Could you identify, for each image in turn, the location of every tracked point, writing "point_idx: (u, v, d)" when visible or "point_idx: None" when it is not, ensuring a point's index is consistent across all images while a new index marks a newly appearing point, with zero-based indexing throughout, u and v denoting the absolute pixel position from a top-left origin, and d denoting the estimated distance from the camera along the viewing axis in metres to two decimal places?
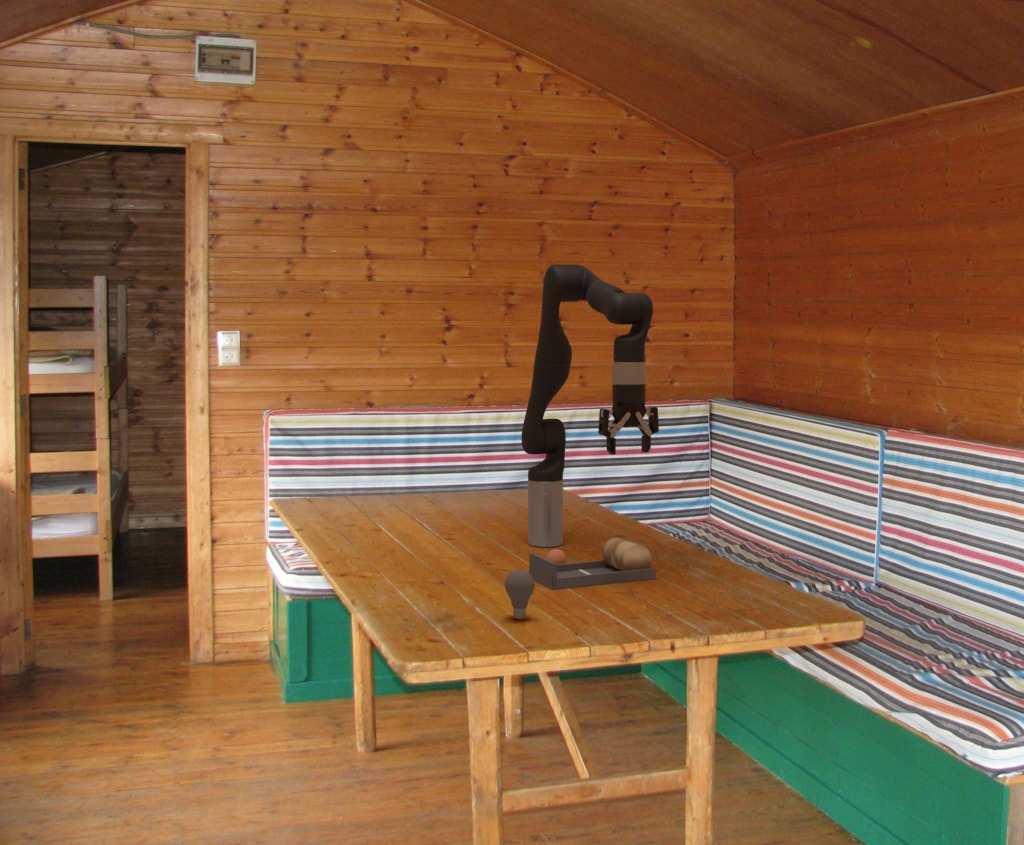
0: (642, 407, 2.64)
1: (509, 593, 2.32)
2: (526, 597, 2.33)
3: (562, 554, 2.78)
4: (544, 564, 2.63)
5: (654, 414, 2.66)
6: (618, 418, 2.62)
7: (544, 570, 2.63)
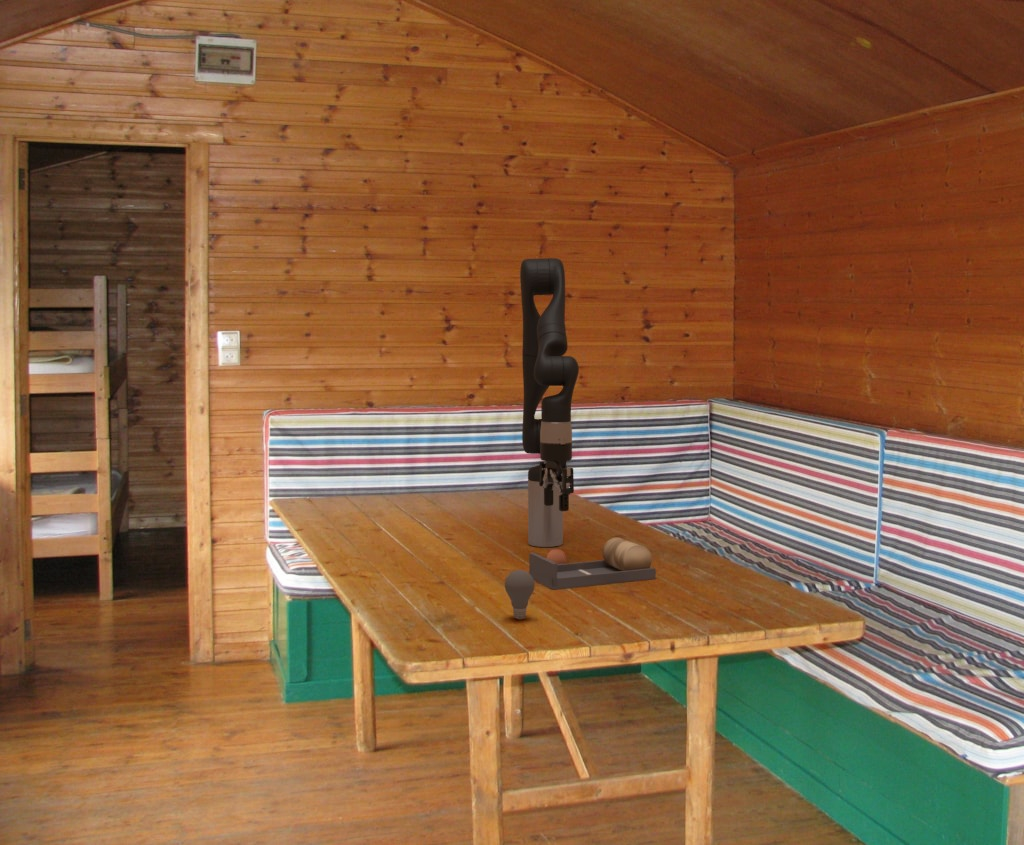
0: None
1: (509, 593, 2.32)
2: (526, 597, 2.33)
3: (562, 554, 2.78)
4: (544, 564, 2.63)
5: None
6: None
7: (544, 570, 2.63)
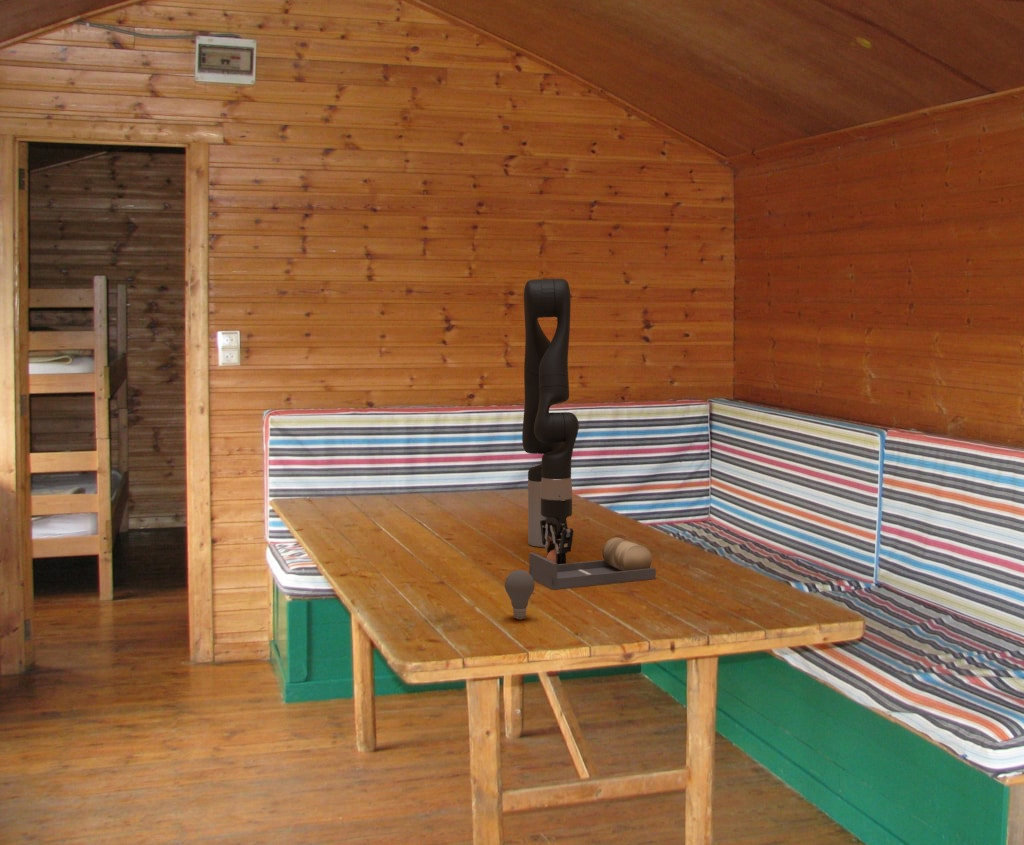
0: None
1: (509, 593, 2.32)
2: (526, 597, 2.33)
3: None
4: (544, 564, 2.63)
5: None
6: None
7: (544, 570, 2.63)
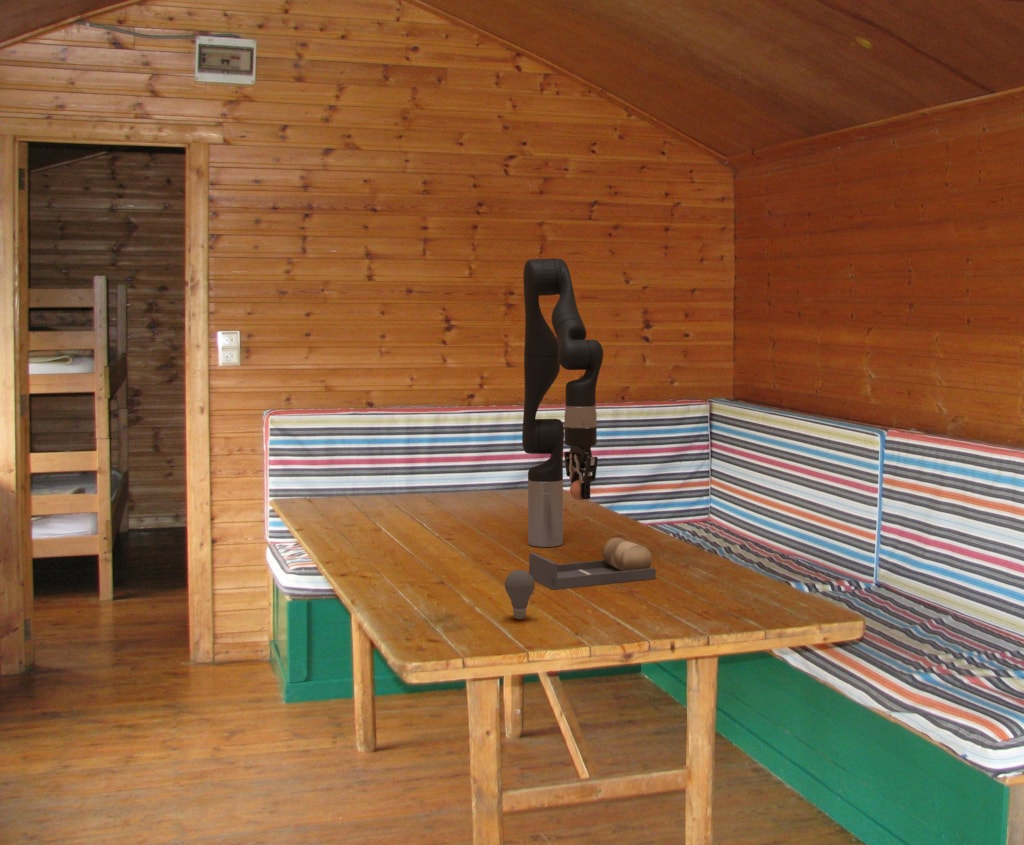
0: None
1: (509, 593, 2.32)
2: (526, 597, 2.33)
3: None
4: (544, 564, 2.63)
5: None
6: None
7: (544, 570, 2.63)
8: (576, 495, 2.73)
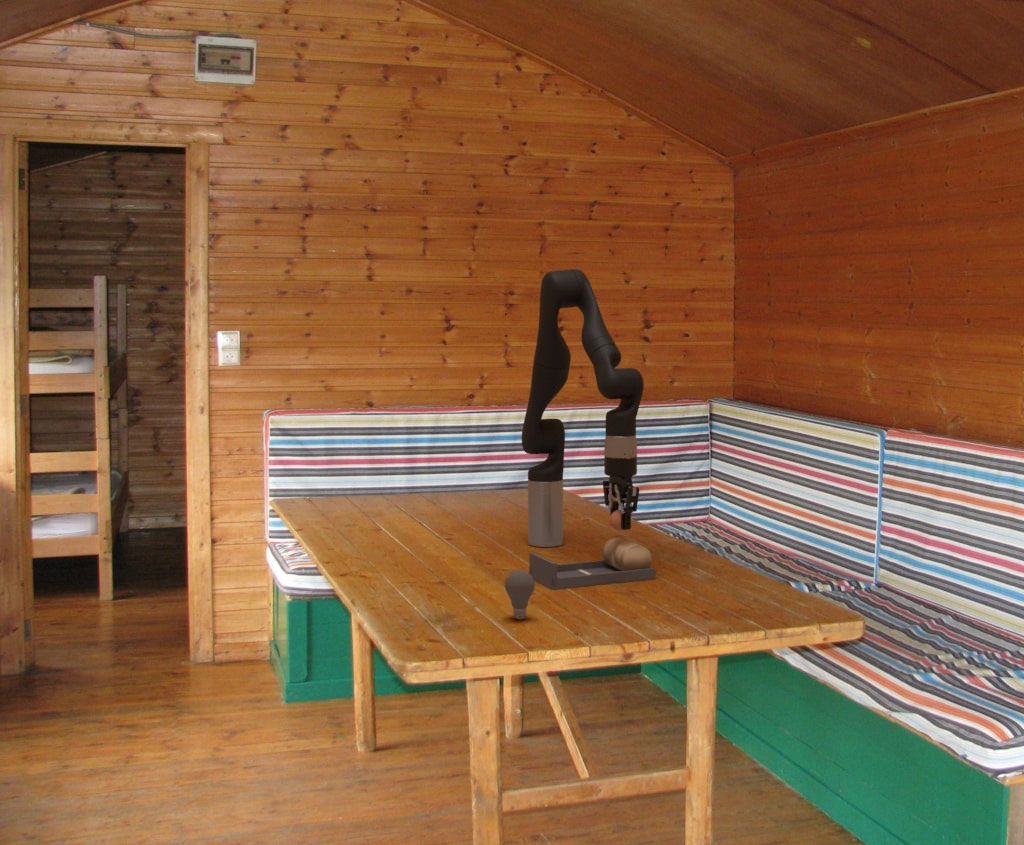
0: None
1: (509, 593, 2.32)
2: (526, 597, 2.33)
3: None
4: (544, 564, 2.63)
5: None
6: None
7: (544, 570, 2.63)
8: (617, 525, 2.70)
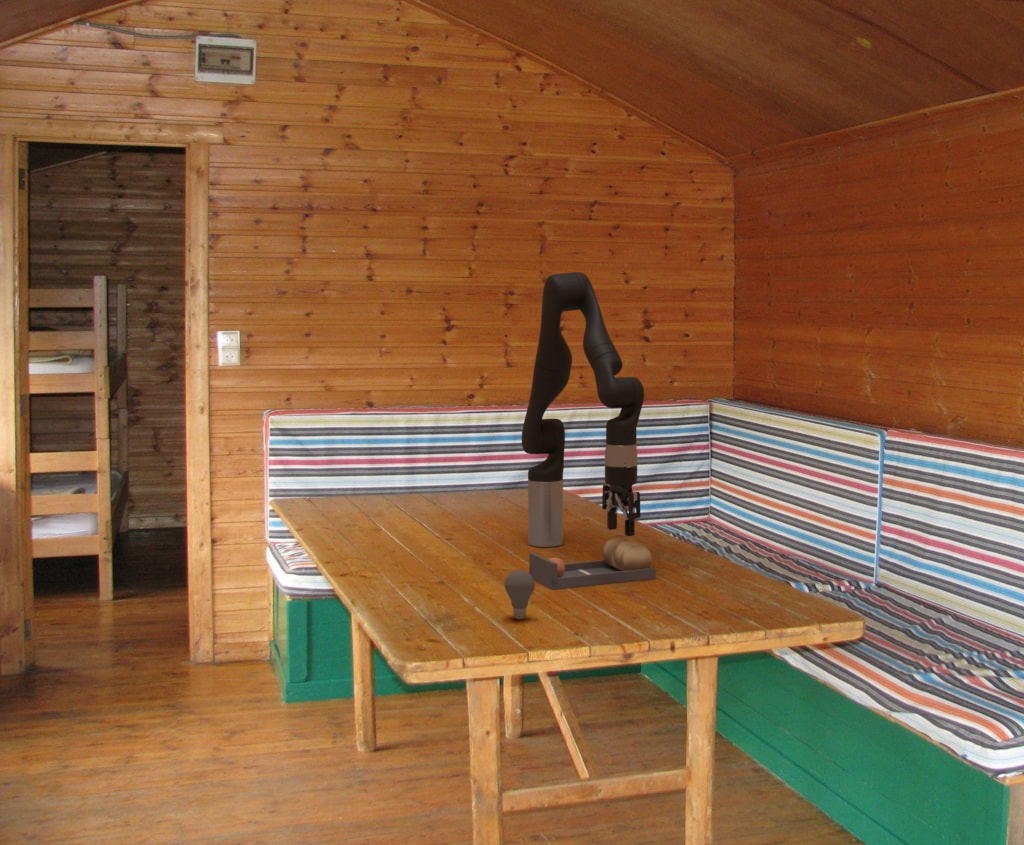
0: None
1: (509, 593, 2.32)
2: (526, 597, 2.33)
3: None
4: (544, 564, 2.63)
5: None
6: None
7: (544, 570, 2.63)
8: (562, 574, 2.65)
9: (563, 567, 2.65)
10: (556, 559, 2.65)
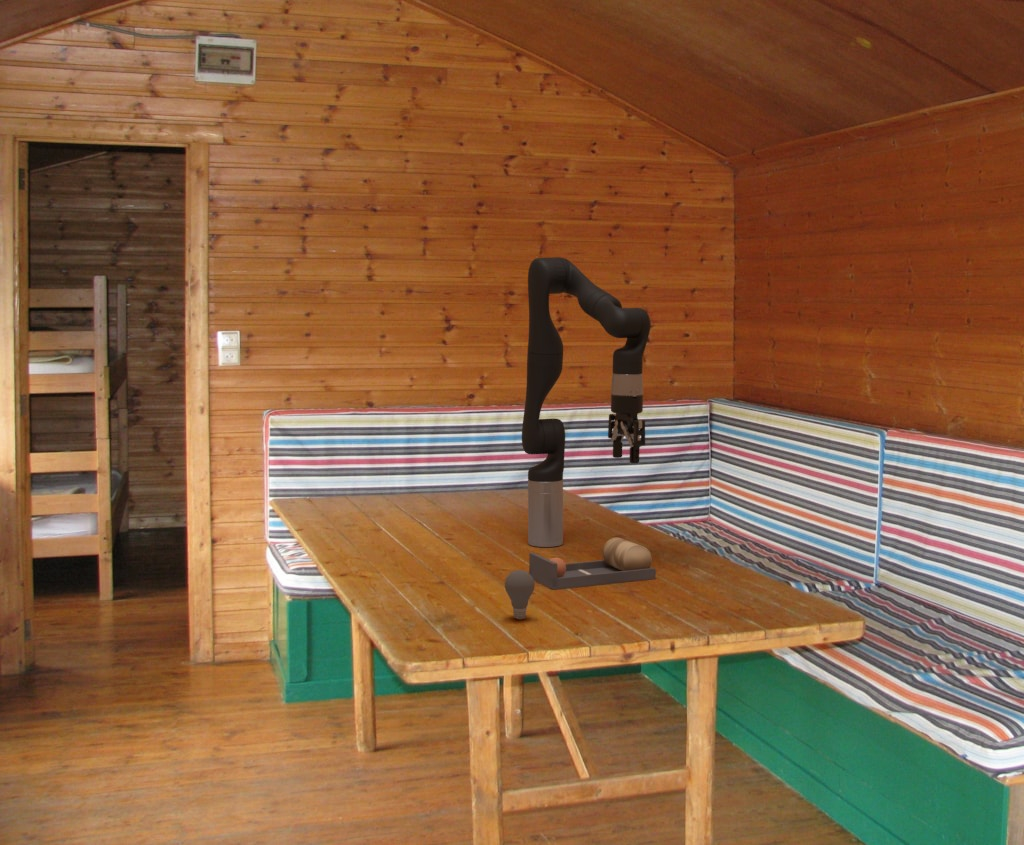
0: None
1: (509, 593, 2.32)
2: (526, 597, 2.33)
3: None
4: (544, 564, 2.63)
5: None
6: None
7: (544, 570, 2.63)
8: None
9: (564, 567, 2.65)
10: (558, 559, 2.65)
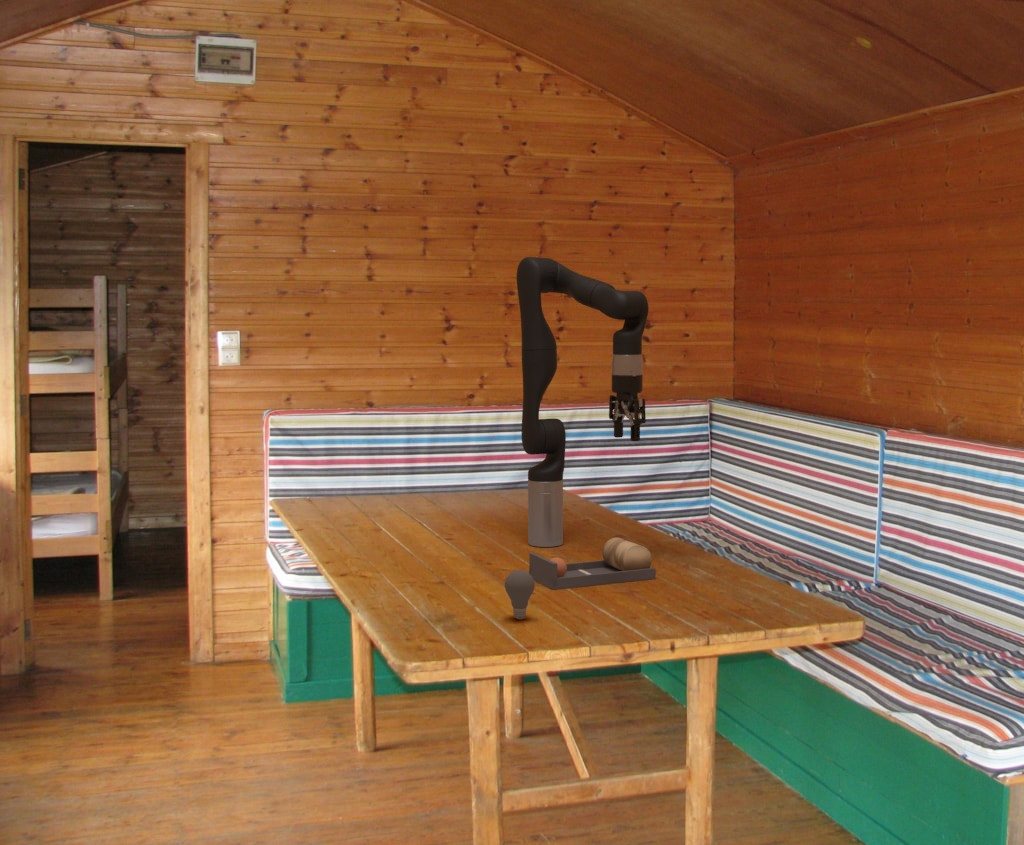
0: None
1: (509, 593, 2.32)
2: (526, 597, 2.33)
3: None
4: (544, 564, 2.63)
5: None
6: None
7: (544, 570, 2.63)
8: (563, 575, 2.65)
9: (565, 568, 2.65)
10: (559, 559, 2.65)
